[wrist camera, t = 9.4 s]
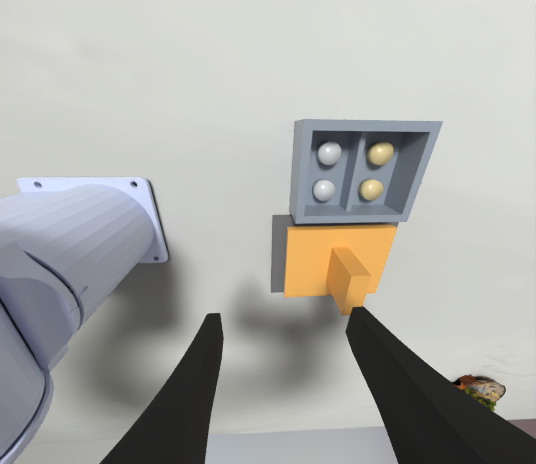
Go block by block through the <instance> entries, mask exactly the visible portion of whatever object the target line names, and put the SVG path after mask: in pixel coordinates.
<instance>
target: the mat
mask: <svg viewBox="0 0 536 464" xmlns="http://www.w3.org/2000/svg"><path fill="white" fill-rule="evenodd" d="M398 223H399V222H359V223H303V224H296V223H295V221H294V219H293V217H292V215H273V224H272V267H271V293H274V292H283V291H284V273H285V255H286V237H287V227H311V226H355V225H393V226H395V227H396V228H397V226H398Z"/></svg>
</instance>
